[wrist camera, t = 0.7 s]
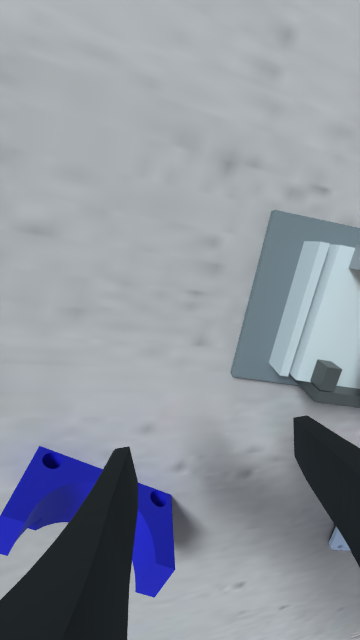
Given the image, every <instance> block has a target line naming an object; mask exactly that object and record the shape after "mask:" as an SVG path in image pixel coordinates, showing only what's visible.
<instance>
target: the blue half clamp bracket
mask: <svg viewBox="0 0 360 640" xmlns="http://www.w3.org/2000/svg"><path fill="white" fill-rule="evenodd" d="M102 471H103V469H100V468H97V467H95V466H92V465H89V464H87V463H84V462H81V461H79V460H76V459H73V458H71V457H68V456H65V455H62V454H60V453H57V452H54V451H52V450H49V449H46V448H44V447H41V446H39V448H38V450H37V452H36V453H35V455H34V457H33V459H32V460H31V462H30V464H29V466H28V468H27V469H26V471H25V473H24V475H23V476H22V478H21V480H20V482H19V484H18V485H17V487H16V489H15V491H14V492H13V494H12V496H11V498H10V500H9V501H8V503H7V505H6V507H5V508H4V510H3V512H2V514H1V516H0V554H3V555H6V556H8V554H9V552H10V550H11V548H12V547H13V545H14V543H15V542H16V540H17V539H18V538H19V537H20V535H21V534H22V533H23V532H24V531H25V530H26V529H27V528H29V529H33V530H37V529H39V528H41V527H44V526H46V525H49V524H53V523H59V522H70V520H71V519H72V518H73V516H74V515H75V514H76V512H77V511H78V509H79V508H80V506H81V505H82V503H83V502H84V500H85V499H86V497H87V496H88V494H89V493H90V491H91V489H92V488H93V486H94V484H95V483H96V481H97V479H98V478H99V476H100V474H101V473H102ZM132 561H133V566H134V571H135V581H136V592H137V593H141V594H144V595H148V596H151V597H155V596H156V595H157V593H158V592H159V591H160V589H161V588H162V587H163V585H164V584H165V583H166V581H167V580H168V578H169V577H170V576H171V574H172V573H173V572H174V570H175V558H174V540H173V522H172V504H171V495H170V494H167V493H164V492H162V491H159V490H156V489H154V488H151V487H148V486H146V485H143V484H140V483H138V513H137V522H136V530H135V539H134V547H133V555H132Z"/></svg>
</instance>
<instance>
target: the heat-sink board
mask: <svg viewBox="0 0 360 640" xmlns="http://www.w3.org/2000/svg"><path fill="white" fill-rule="evenodd" d="M231 375H232V377H240V378H247V379H255V380H262V381H270V382H277V383H285V384H292V385H300V386H301V387H302V388H303V390H304V391H305V392H306V393H307V394H308V395H309V396H310V397H311V398H312V399H313V400H314V401H315V402H319V403H327V404H335V405H343V406H351V407H358V408H360V228H356V227H352V226H347V225H342V224H338V223H333V222H328V221H324V220H319V219H314V218H310V217H305V216H300V215H296V214H291V213H286V212H282V211H277V210H274V211H272V212H271V215H270V219H269V223H268V227H267V231H266V235H265V239H264V243H263V247H262V251H261V255H260V259H259V263H258V267H257V270H256V274H255V278H254V282H253V286H252V290H251V294H250V298H249V302H248V306H247V310H246V314H245V318H244V322H243V326H242V329H241V333H240V337H239V341H238V345H237V349H236V353H235V357H234V361H233V365H232V369H231Z"/></svg>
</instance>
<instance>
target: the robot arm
mask: <svg viewBox="0 0 360 640" xmlns="http://www.w3.org/2000/svg"><path fill="white" fill-rule="evenodd" d="M293 419H294V453H295V458H296V460H297V462H298V464H299V466H300V468H301V470H302V472H303V474H304V476H305V478H306V480H307V482H308V483H309V485H310V486H311V488H312V490H313V491H314V493H315V494H316V496H317V497H318V499H319V501H320V502H321V504H322V505H323V507H324V508H325V510H326V511H327V513H328V514H329V516H330V518H331V519H332V521H333V522H334V524H335V525H336V527H335V530H334V532H333V534H332V536H331V539H330V541H329V546H330V548H331V549H332V550H344V551H351V552H352V554H353V556H354V558H355V559H356V561H357V563H358V565H359V567H360V448H358V447H357V446H355V445H353V444H352V443H350V442H348V441H347V440H345V439H343V438H342V437H340V436H339V435H337V434H335V433H334V432H332V431H331V430H329V429H328V428H326V427H325V426H323V425H321V424H320V423H318V422H317V421H315V420H314V419H312V418H310V417H309V416H301V417H296V418H293ZM137 513H138V481H137V477H136V473H135V469H134V464H133V460H132V456H131V452H130V448H129V447H124V448H118V449H115V450H114V451H113V453H112V455H111V456H110V458H109V460H108V462H107V464H106V466H105V467H104V469H103V471H102V473H101V474H100V476H99V478H98V479H97V481H96V483H95V484H94V486H93V488H92V489H91V491H90V493H89V494H88V496H87V497H86V499H85V500H84V502H83V503H82V505H81V506H80V508H79V509H78V511H77V512H76V514H75V515H74V516H73V518H72V519H71V520H70V522H69V523H68V525H67V526H66V527H65V529H64V530H63V531H62V532H61V534H60V535H59V536H58V538H57V539H56V540H55V541H54V543H53V544H52V545H51V546H50V547H49V549H48V550H47V551H46V552H45V553H44V554H43V556H42V557H41V558H40V559H39V560H38V561H37V562H36V564H35V565H34V566H33V567H32V568H31V569H30V570H29V571H28V572H27V573H26V575H25V576H24V577H23V578H22V579H21V580H20V581H19V582H18V583H17V584H16V585H15V586H14V587H13V588H12V589H11V590H10V591H9V592H8V593H7V594H6V595H5V596H4V597H3V598H2V599H1V600H0V640H127V625H128V600H129V583H130V572H131V564H132V555H133V547H134V539H135V530H136V522H137Z"/></svg>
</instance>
